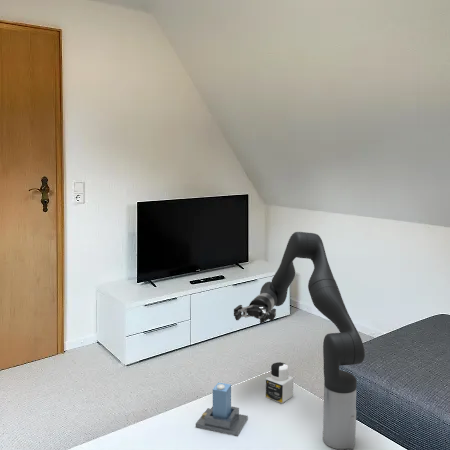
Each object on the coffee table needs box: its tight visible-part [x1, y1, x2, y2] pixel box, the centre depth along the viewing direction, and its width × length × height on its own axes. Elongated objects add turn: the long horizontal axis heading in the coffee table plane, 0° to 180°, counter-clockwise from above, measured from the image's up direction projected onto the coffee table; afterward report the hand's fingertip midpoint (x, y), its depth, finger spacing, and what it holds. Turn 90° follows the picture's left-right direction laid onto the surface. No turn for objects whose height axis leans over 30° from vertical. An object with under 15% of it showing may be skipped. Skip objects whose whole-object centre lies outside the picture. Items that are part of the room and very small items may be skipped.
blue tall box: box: [212, 382, 232, 419], centre depth 151 cm, size 4×5×12 cm
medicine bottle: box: [265, 361, 294, 404], centre depth 168 cm, size 7×7×12 cm
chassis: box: [195, 405, 249, 437], centre depth 152 cm, size 14×10×4 cm
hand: (248, 319), depth 160 cm, fingers open, 8 cm apart
